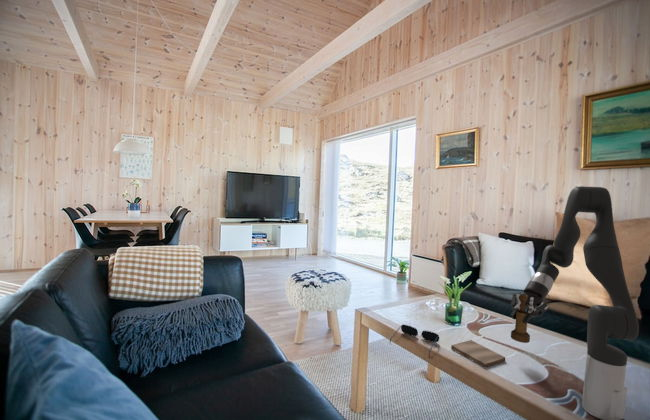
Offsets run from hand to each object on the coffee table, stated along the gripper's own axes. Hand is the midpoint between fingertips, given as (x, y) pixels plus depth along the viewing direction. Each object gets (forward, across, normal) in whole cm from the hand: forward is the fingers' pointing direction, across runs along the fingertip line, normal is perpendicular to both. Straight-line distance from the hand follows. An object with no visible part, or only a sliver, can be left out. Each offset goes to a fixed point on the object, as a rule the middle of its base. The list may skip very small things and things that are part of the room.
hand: (518, 319), depth 129 cm
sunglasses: (+31, -28, -6) cm, 42 cm away
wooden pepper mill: (+4, 0, +7) cm, 9 cm away
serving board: (+18, -10, +6) cm, 22 cm away
